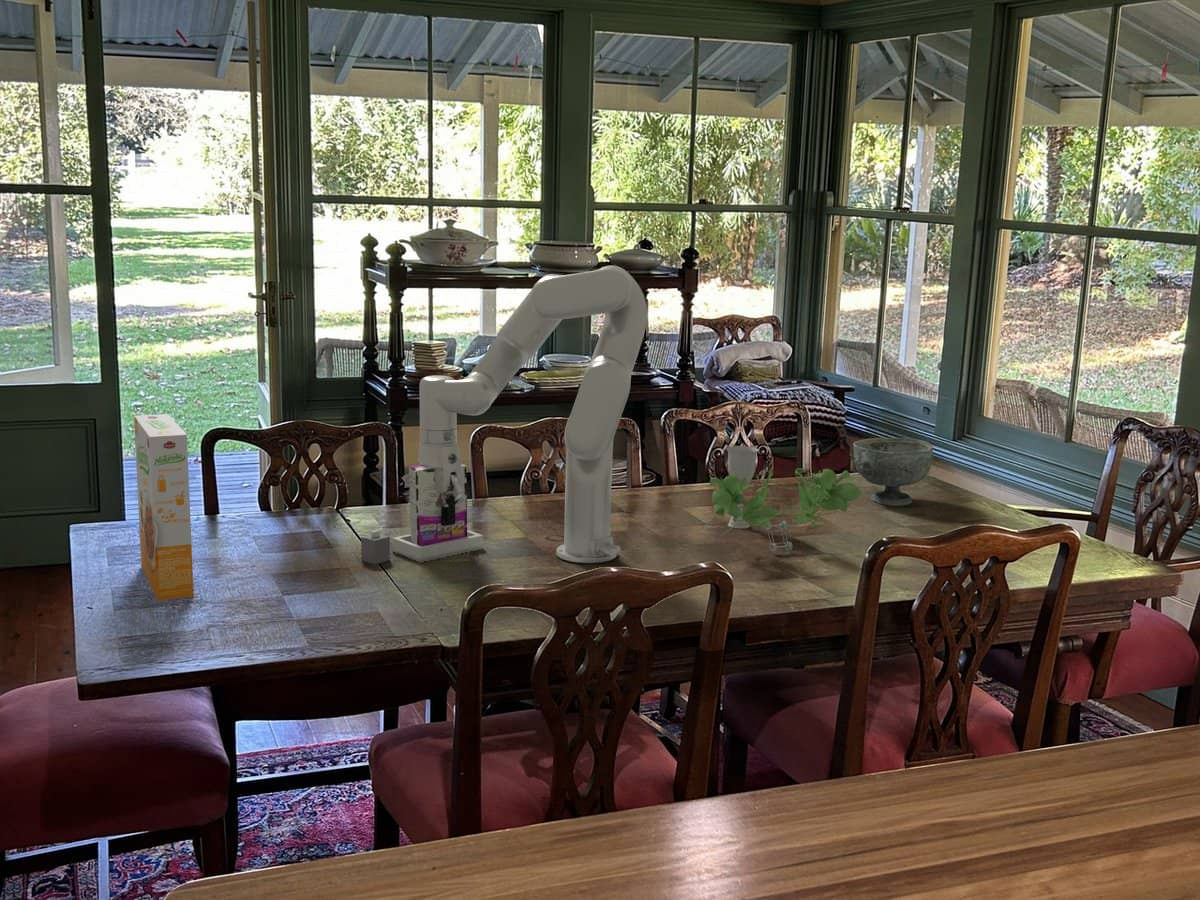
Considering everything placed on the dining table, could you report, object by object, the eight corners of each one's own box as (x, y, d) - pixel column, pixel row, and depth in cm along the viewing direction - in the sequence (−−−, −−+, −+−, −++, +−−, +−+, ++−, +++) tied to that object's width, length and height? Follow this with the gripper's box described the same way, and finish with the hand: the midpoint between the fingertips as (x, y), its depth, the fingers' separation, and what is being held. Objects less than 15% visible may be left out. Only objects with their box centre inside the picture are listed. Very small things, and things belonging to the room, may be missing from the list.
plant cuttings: (688, 578, 264) (725, 540, 245) (672, 506, 271) (707, 463, 252) (831, 567, 275) (878, 529, 256) (813, 497, 282) (857, 456, 263)
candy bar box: (459, 536, 260) (459, 460, 257) (468, 542, 256) (468, 465, 253) (408, 542, 255) (408, 465, 252) (417, 548, 251) (416, 470, 248)
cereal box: (141, 566, 240) (133, 415, 234) (174, 563, 243) (168, 413, 237) (157, 600, 220) (149, 436, 214) (193, 596, 223) (186, 434, 217)
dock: (483, 549, 258) (483, 535, 257) (420, 562, 247) (420, 548, 247) (454, 538, 265) (454, 525, 264) (392, 551, 254) (392, 537, 254)
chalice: (719, 527, 281) (722, 450, 277) (727, 520, 287) (731, 444, 283) (750, 531, 278) (754, 453, 274) (758, 524, 284) (762, 448, 280)
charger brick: (389, 560, 249) (389, 530, 247) (375, 564, 245) (374, 534, 244) (376, 556, 251) (375, 527, 250) (361, 560, 248) (361, 531, 246)
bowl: (847, 490, 321) (851, 433, 318) (923, 494, 318) (928, 437, 315) (852, 508, 301) (856, 448, 298) (933, 513, 299) (938, 452, 296)
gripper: (478, 440, 248) (478, 527, 251) (428, 428, 260) (429, 510, 264) (448, 445, 243) (448, 533, 246) (399, 432, 255) (400, 516, 258)
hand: (438, 520), depth 255 cm, fingers closed on candy bar box, 5 cm apart
